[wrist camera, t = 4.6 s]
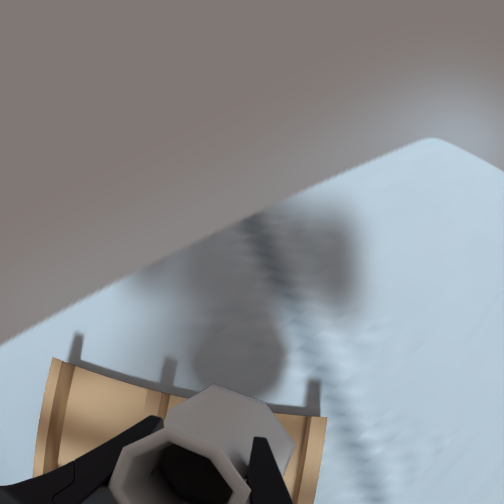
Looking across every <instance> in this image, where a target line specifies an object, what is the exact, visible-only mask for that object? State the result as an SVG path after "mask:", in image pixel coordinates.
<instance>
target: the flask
mask: <svg viewBox="0 0 504 504" xmlns="http://www.w3.org/2000/svg"><path fill="white" fill-rule="evenodd" d="M254 436H259V437H266V438H267V440H268V442H269V445H270V447H271V450H272V452H273V455H274V457H275V460H276V462H277V465H278V467H279V469H280V472H281V474H282V477H283V476H284V474H285V471H286V469H287V466H288V464H289V461H290V459H291V456H292V454H293V451H294V448H295V446H296V443H295V442H294V441H293V439H292V438H291V437H290V435H289V434H288V433H287V431H286V430H285V429H284V427H283V426H282V425H281V423H280V422H279V421H278V419H277V418H276V417H275V415H274V414H273V412H272V411H271V410H270V408H269V407H268V405H267V404H266V403H265V402H263V401H260V400H257V399H254V398H251V397H248V396H245V395H242V394H239V393H237V392H234V391H231V390H228V389H226V388H223V387H220V386H218V385H215V384H213V385H212V386H210V387H208V388H206V389H205V390H203V391H201V392H199V393H198V394H196V395H194V396H192V397H191V398H189V399H187V400H185V401H183V402H182V403H180V404H178V405H176V406H174V407H172V408H170V409H169V411H168V413H167V416H166V418H165V420H164V428H162V429H161V430H159V431H157V432H155V433H153V434H151V435H148V436H146V437H144V438H142V439H140V440H138V441H136V442H134V443H132V444H130V445H127V446H125V447H123V449H122V451H121V454H120V456H119V459H118V461H117V464H116V466H115V469H114V471H113V474H112V476H111V479H110V481H109V484H108V487H107V488H108V490H109V492H110V493H111V495H112V496H113V498H114V500H115V501H116V503H117V504H245V503H246V501H247V499H248V497H249V494H250V492H251V489H250V487H249V486H248V485H247V483H246V477H247V471H248V465H249V459H250V453H251V448H252V442H253V437H254ZM155 465H156V466H155ZM154 467H155V469H154ZM153 469H154V471H153ZM152 471H153V474H152V475H151V472H152Z"/></svg>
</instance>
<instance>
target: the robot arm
mask: <svg viewBox="0 0 504 504" xmlns="http://www.w3.org/2000/svg"><path fill="white" fill-rule="evenodd" d="M162 428H164V421H163V418H161V417H158V416H155V415H149V416H148V417H146V418H144V419H143V420H141V421H140V422H138V423H136V424H135V425H133V426H132V427H130V428H128V429H127V430H125V431H123V432H122V433H120V434H118V435H117V436H115V437H113V438H112V439H110V440H108V441H106V442H105V443H103V444H101V445H100V446H98V447H96V448H94V449H93V450H91V451H89V452H87V453H85V454H84V455H82V456H80V457H78V458H76V459H75V460H74V461H71V462H69V463H67V464H65V465H63V466H61V467H59V468H57V469H55V470H52V471H50V472H48V473H45V474H42V475H40V476H37V477H34V478H31V479H28V480H25V481H22V482H19V483H16V484H12V485H7V486H0V504H117V503H116V501H115V500H114V498H113V496H112V495H111V493H110V492H109V490H108V488H107V487H108V484H109V481H110V479H111V476H112V474H113V471H114V469H115V466H116V464H117V461H118V459H119V456H120V454H121V451H122V449H123V447H125V446H127V445H130V444H132V443H134V442H136V441H138V440H140V439H142V438H144V437H146V436H148V435H151V434H153V433H155V432H157V431H159V430H161V429H162ZM155 466H156V465H155ZM154 469H155V467H154ZM154 469H153V471H154ZM153 471H152V472H151V475H152V474H153ZM246 483H247V485H248V486H249V487H250V489H251V492H250V494H249V497H248V499H247V501H246V503H245V504H294V503H293V500H292V498H291V496H290V493H289V491H288V489H287V486H286V484H285V482H284V479H283V477H282V474H281V472H280V469H279V467H278V465H277V462H276V460H275V457H274V455H273V452H272V450H271V447H270V445H269V442H268V440H267V438H266V437H259V436H254V437H253V442H252V448H251V453H250V459H249V465H248V471H247V477H246Z"/></svg>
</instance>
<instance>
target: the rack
mask: <svg viewBox="0 0 504 504" xmlns="http://www.w3.org/2000/svg"><path fill="white" fill-rule="evenodd" d="M185 400H187V398H183V397H178V396H174V395H170V394H166V393H162V392H158V391H154V390H150V389H146V388H142V387H139V386H135V385H132V384H128V383H125V382H122V381H118V380H115V379H112V378H109V377H106V376H103V375H100V374H97V373H94V372H91V371H88V370H85V369H82V368H80V367H77V366H74V365H72V364H69V363H66V362H64V361H61V360H59V359H56V358H54V357H53V358H52V362H51V366H50V370H49V374H48V378H47V383H46V388H45V392H44V397H43V402H42V408H41V413H40V419H39V426H38V432H37V439H36V447H35V456H34V466H33V478H34V477H37V476H40V475H42V474H45V473H48V472H50V471H52V470H55V469H57V468H59V467H61V466H63V465H65V464H67V463H69V462H71V461H74V460H75V459H76V458H78V457H80V456H82V455H84V454H85V453H87V452H89V451H91V450H93V449H94V448H96V447H98V446H100V445H101V444H103V443H105V442H106V441H108V440H110V439H112V438H113V437H115V436H117V435H118V434H120V433H122V432H123V431H125V430H127V429H128V428H130V427H132V426H133V425H135V424H136V423H138V422H140V421H141V420H143V419H144V418H146V417H148V416H149V415H155V416H158V417H161V418H163V421H164V420H165V418H166V416H167V413H168V411H169V409H170V408H172V407H174V406H176V405H178V404H180V403H182V402H183V401H185ZM273 414H274V415H275V417H276V418H277V419H278V421H279V422H280V423H281V425H282V426H283V427H284V429H285V430H286V431H287V433H288V434H289V435H290V437H291V438H292V439H293V441H294V442H295V443H296V446H295V448H294V451H293V454H292V456H291V459H290V461H289V464H288V466H287V469H286V471H285V474H284V476H283V479H284V482H285V484H286V486H287V489H288V491H289V493H290V496H291V498H292V500H293V503H294V504H313V503H314V498H315V493H316V487H317V482H318V476H319V471H320V465H321V459H322V452H323V446H324V439H325V432H326V424H327V417H313V416H299V415H288V414H278V413H273Z"/></svg>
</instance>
